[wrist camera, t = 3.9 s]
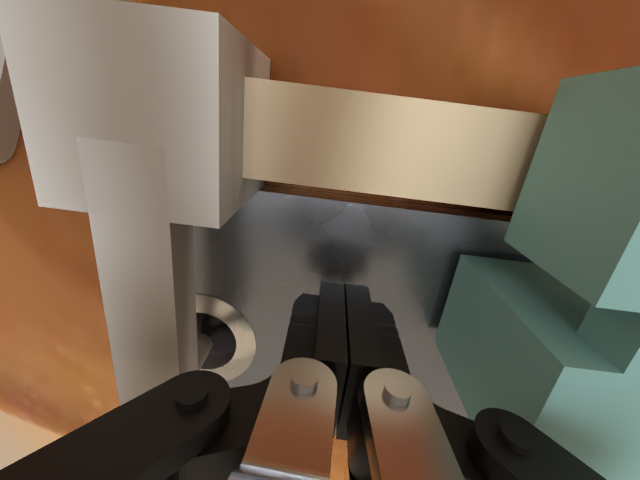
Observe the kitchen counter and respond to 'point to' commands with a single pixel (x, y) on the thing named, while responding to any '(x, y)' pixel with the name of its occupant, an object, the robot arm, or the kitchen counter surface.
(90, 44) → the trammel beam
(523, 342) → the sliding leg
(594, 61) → the kitchen counter surface
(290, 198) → the bolt plate
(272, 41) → the kitchen counter surface
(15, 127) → the adjustable wrench
